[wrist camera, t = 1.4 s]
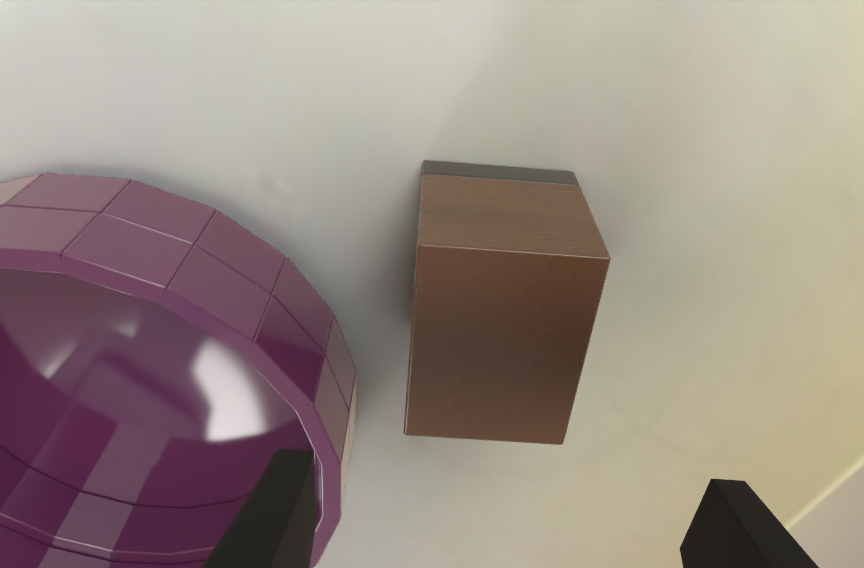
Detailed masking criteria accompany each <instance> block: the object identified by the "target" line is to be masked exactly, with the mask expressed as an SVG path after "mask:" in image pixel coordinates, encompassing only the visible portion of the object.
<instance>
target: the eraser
mask: <svg viewBox="0 0 864 568" xmlns="http://www.w3.org/2000/svg"><path fill="white" fill-rule="evenodd" d="M609 263H610V256H609V253H608V251H607V249H606V246H605V244H604V242H603V239H602V237H601V235H600V232H599V230H598V228H597V225H596V223H595V221H594V218H593V216H592V214H591V211H590V209H589V206H588V204H587V202H586V199H585V197H584V195H583V192H582V190H581V188H580V186H579V184H578V182H577V179H576V177H575V175H574V173H573V172H567V171H554V170H541V169H528V168H515V167H502V166H489V165H476V164H463V163H449V162H436V161H424V162H423V164H422V178H421V191H420V205H419V218H418V232H417V246H416V259H415V273H414V286H413V300H412V314H411V327H410V343H409V359H408V375H407V390H406V406H405V422H404V434H405V435H414V436H430V437H446V438H462V439H477V440H493V441H509V442H525V443H541V444H557V445H562V444H563V442H564V438H565V435H566V431H567V427H568V423H569V419H570V415H571V411H572V407H573V403H574V399H575V396H576V392H577V388H578V384H579V380H580V376H581V372H582V368H583V364H584V360H585V357H586V353H587V349H588V345H589V341H590V337H591V333H592V329H593V325H594V321H595V318H596V314H597V310H598V306H599V302H600V298H601V294H602V290H603V286H604V282H605V279H606V275H607V271H608V267H609Z"/></svg>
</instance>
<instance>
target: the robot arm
mask: <svg viewBox="0 0 864 568" xmlns="http://www.w3.org/2000/svg"><path fill="white" fill-rule="evenodd" d="M315 529H316V502H315V474H314V451H308V450H294V449H278V450H277V451H275V452H274V453H273V455H272V457H271V459H270V461H269V463H268V465H267V466H266V468H265V470H264V472H263V474H262V475H261V477H260V479H259V480H258V482H257V484H256V486H255V487H254V489H253V490H252V492H251V494H250V495H249V497H248V499H247V500H246V502H245V503H244V505H243V506H242V508H241V509H240V511H239V513H238V514H237V516H236V517H235V519H234V520H233V522H232V523H231V524H230V526H229V527H228V529H227V530H226V532H225V533H224V535H223V536H222V537H221V539H220V540H219V542H218V543H217V545H216V546H215V548H214V549H213V550H212V552H211V553H210V555H209V556H208V557H207V559H206V560H205V561H204V563H203V564H202V565H201V567H200V568H309V566H310V560H311V554H312V548H313V542H314V535H315ZM680 552H681V557H682V563H683V568H819V567H818V566H817V565H816V564H815V563H814V562H813V561H812V559H810V557H809V556H808V555H807V554H806V553H805V551H804V550H803V549H802V548H801V546H799V544H798V543H797V542H796V541H795V539H794V538H793V537H792V536H791V535H790V534H789V532H788V531H787V530H786V529H785V528H784V527H783V525H782V524H781V523H780V522H779V521H778V519H777V518H776V517H775V516H774V515H773V514H772V512H771V511H770V510H769V509H768V508H767V506H766V505H765V504H764V503H763V502H762V501H761V499H760V498H759V497H758V496H757V495H756V493H755V492H754V491H753V490H752V489H751V488H750V487H749V485H748V484H747V483H746V482H745V481H737V480H723V479H711V480H710V483H709V485H708V487H707V489H706V491H705V494H704V496H703V498H702V500H701V503H700V505H699V507H698V509H697V511H696V514H695V516H694V518H693V520H692V522H691V525H690V527H689V529H688V531H687V534H686V536H685V538H684V540H683V542H682V545H681V547H680Z"/></svg>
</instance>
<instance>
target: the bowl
mask: <svg viewBox="0 0 864 568" xmlns="http://www.w3.org/2000/svg"><path fill="white" fill-rule="evenodd" d="M355 369H356V368H355V366H354V363H353V361H352V358H351V356H350V353H349V351H348V348H347V345H346V343H345V340H344V338H343V335H342V333H341V330H340V328H339V325H338V323H337V320H336V317H335V315H334V314H333V312H332V310H331V309H330V308H329V306H328V305H327V304H326V303H325V302H324V300H323V299H322V298H321V297H320V296H319V294H318V293H317V292H316V291H315V290H314V289H313V287H312V286H311V285H310V284H309V283H308V281H307V280H306V279H305V278H304V277H303V276H302V274H301V273H300V272H299V271H298V270H297V268H296V267H295V266H294V265H293V264H292V262H291V261H290V260H289V259H288V258H287V257H286V258H285V256H284V255H283V254H282V253H280V252H279V251H277V250H276V249H274V248H273V247H271V246H270V245H268V244H267V243H265V242H264V241H263V240H261V239H260V238H258V237H257V236H255V235H254V234H252V233H251V232H249V231H248V230H246V229H245V228H243V227H242V226H240V225H239V224H237V223H236V222H234V221H233V220H231V219H230V218H228V217H227V216H225V215H224V214H223V213H221V212H220V211H215V209H214V208H212V207H209V206H206V205H203V204H200V203H198V202H195V201H192V200H189V199H186V198H183V197H180V196H178V195H175V194H172V193H169V192H166V191H163V190H161V189H158V188H155V187H152V186H149V185H146V184H144V183H141V182H138V181H135V180H131V179H124V178H110V177H97V176H83V175H70V174H57V173H45V174H38V175H34V176H30V177H25V178H21V179H17V180H13V181H9V182H5V183H1V184H0V568H200V567H201V565H202V564H203V563H204V561H205V560H206V559H207V557H208V556H209V555H210V553H211V552H212V550H213V549H214V548H215V546H216V545H217V543H218V542H219V540H220V539H221V537H222V536H223V535H224V533H225V532H226V530H227V529H228V527H229V526H230V524H231V523H232V522H233V520H234V519H235V517H236V516H237V514H238V513H239V511H240V509H241V508H242V506H243V505H244V503H245V502H246V500H247V499H248V497H249V495H250V494H251V492H252V490H253V489H254V487H255V486H256V484H257V482H258V480H259V479H260V477H261V475H262V474H263V472H264V470H265V468H266V466H267V465H268V463H269V461H270V459H271V457H272V455H273V453H274V452H275V451H277V450H278V449H294V450H308V451H314V474H315V502H316V529H315V535H314V542H313V548H312V554H311V560H310V566H309V568H313V567H315V566H316V565H317V563H318V562H319V560H320V558H321V556H322V554H323V552H324V550H325V548H326V547H327V545H328V543H329V541H330V539H331V537H332V535H333V533H334V531H335V529H336V527H337V525H338V523H339V522H340V519H341V514H342V507H343V501H344V494H345V488H346V481H347V474H348V468H349V461H350V455H351V448H352V441H353V435H354V428H355V422H356V374H357V371H356V370H355Z"/></svg>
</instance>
